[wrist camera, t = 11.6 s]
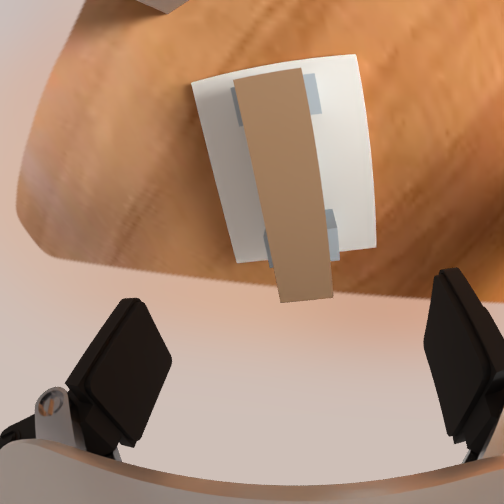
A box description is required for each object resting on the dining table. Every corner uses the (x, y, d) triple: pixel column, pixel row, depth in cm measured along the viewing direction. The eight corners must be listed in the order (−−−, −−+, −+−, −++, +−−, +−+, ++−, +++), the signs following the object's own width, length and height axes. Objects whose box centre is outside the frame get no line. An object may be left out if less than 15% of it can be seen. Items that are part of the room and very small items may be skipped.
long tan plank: (300, 71, 19) (301, 67, 15) (329, 268, 26) (333, 297, 23) (243, 81, 20) (232, 79, 16) (283, 273, 27) (280, 302, 24)
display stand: (352, 56, 22) (365, 48, 17) (373, 240, 30) (385, 269, 26) (196, 82, 25) (174, 82, 20) (239, 255, 33) (229, 286, 29)
